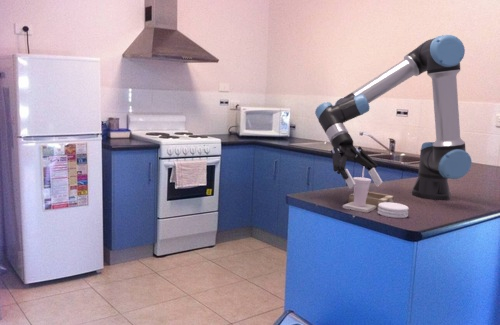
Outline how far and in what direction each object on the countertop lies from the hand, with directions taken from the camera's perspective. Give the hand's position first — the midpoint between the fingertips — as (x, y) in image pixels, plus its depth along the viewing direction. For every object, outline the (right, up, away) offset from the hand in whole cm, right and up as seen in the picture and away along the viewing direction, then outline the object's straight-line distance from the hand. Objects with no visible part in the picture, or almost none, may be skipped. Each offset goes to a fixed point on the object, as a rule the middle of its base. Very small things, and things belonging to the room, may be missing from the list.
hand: (366, 185), depth 160 cm
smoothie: (-2, -7, +3) cm, 8 cm away
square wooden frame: (+5, -7, +13) cm, 16 cm away
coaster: (+8, -10, -3) cm, 13 cm away
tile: (-2, -8, +3) cm, 9 cm away
